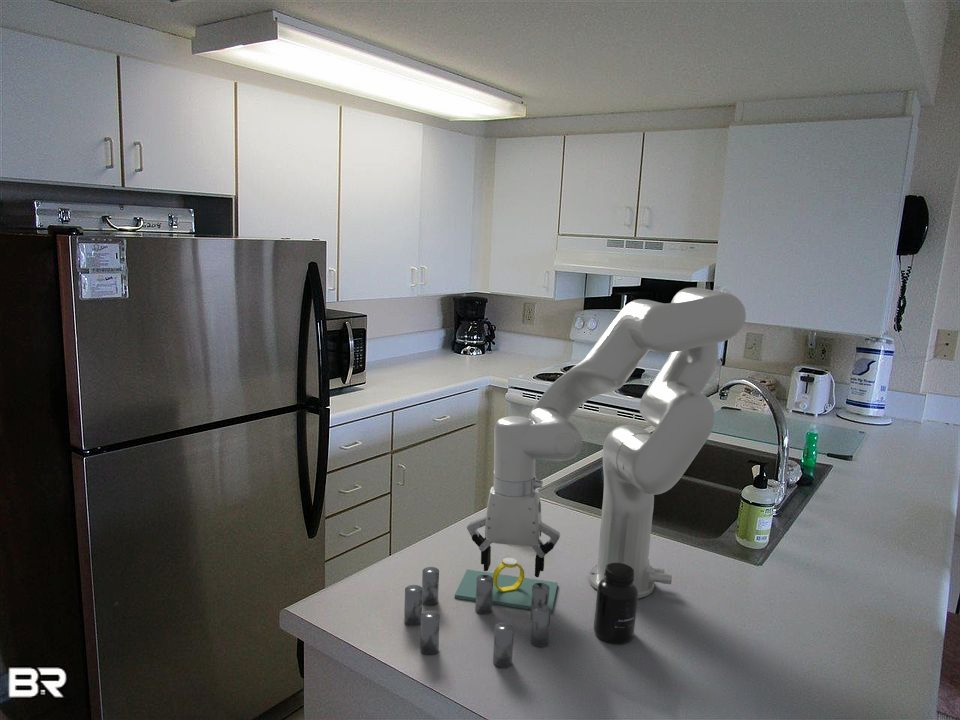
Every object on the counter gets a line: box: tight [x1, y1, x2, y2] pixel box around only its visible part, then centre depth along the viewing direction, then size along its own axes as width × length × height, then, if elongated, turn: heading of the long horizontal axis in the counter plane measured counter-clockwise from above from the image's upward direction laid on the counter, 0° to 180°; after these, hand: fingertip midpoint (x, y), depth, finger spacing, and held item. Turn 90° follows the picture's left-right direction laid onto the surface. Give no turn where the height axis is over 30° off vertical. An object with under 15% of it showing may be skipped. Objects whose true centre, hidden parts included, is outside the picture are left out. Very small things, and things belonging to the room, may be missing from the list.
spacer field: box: [403, 566, 552, 669], centre depth 115 cm, size 25×17×6 cm
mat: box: [454, 568, 559, 614], centre depth 129 cm, size 18×10×1 cm, turn 78°
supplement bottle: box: [593, 563, 639, 645], centre depth 116 cm, size 7×7×12 cm
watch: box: [492, 557, 525, 592], centre depth 128 cm, size 6×3×6 cm, turn 113°
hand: (512, 570), depth 128 cm, fingers open, 9 cm apart
